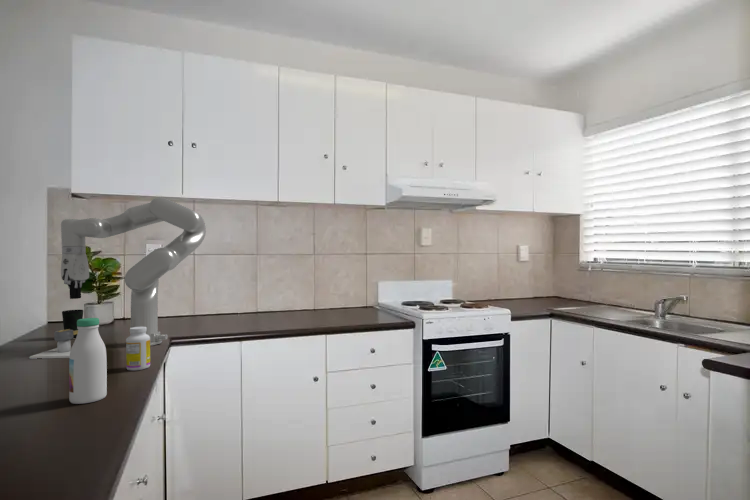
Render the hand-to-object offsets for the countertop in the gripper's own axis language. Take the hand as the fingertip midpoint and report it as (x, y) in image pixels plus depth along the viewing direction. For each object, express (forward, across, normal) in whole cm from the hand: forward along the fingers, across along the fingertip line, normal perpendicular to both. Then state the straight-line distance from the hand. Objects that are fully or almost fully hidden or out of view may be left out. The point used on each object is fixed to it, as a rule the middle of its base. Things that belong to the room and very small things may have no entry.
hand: (75, 298), depth 162 cm
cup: (+19, +21, +15) cm, 33 cm away
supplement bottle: (+20, -32, -39) cm, 54 cm away
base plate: (+19, -9, -1) cm, 21 cm away
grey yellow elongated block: (+15, -5, -1) cm, 16 cm away
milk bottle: (+20, -61, -41) cm, 76 cm away
